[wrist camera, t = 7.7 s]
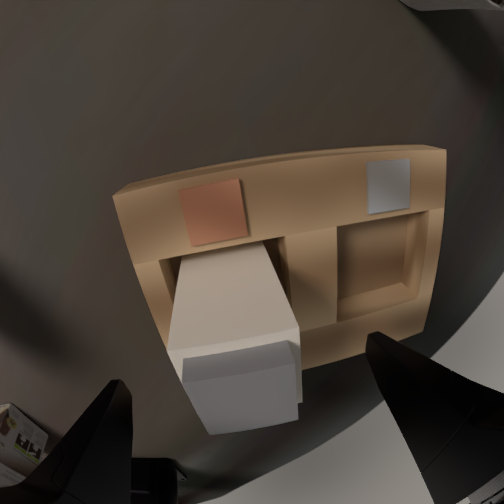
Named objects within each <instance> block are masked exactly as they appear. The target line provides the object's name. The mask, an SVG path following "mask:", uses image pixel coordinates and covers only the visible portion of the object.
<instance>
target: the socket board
mask: <svg viewBox="0 0 504 504" xmlns="http://www.w3.org/2000/svg"><path fill="white" fill-rule="evenodd" d="M445 190H446V150H445V149H441V148H436V147H432V146H427V145H422V144H389V145H369V146H353V147H340V148H329V149H319V150H309V151H300V152H292V153H284V154H277V155H269V156H263V157H256V158H249V159H243V160H237V161H231V162H226V163H220V164H215V165H210V166H204V167H199V168H194V169H190V170H185V171H180V172H176V173H171V174H167V175H162V176H158V177H154V178H150V179H146V180H142V181H138V182H134V183H130V184H128V185H126V186H125V187H124V188H122V189H121V190H120V191H118V192H117V193H116V194H114V195H113V200H114V203H115V207H116V211H117V214H118V218H119V221H120V225H121V228H122V231H123V234H124V238H125V241H126V244H127V247H128V250H129V253H130V256H131V259H132V262H133V265H134V268H135V271H136V274H137V277H138V279H139V282H140V285H141V288H142V290H143V293H144V296H145V298H146V301H147V303H148V306H149V309H150V311H151V314H152V316H153V318H154V321H155V323H156V326H157V328H158V331H159V333H160V335H161V338H162V340H163V342H164V344H165V347H166V349H167V345H168V338H169V331H170V324H171V318H172V311H173V305H174V299H175V293H176V287H177V281H178V276H179V270H180V265H181V259H182V255H186V254H192V253H197V252H202V251H207V250H212V249H218V248H223V247H228V246H234V245H239V244H244V243H249V242H255V241H260V240H262V242H263V244H264V247H265V249H266V251H267V253H268V256H269V258H270V260H271V263H272V265H273V267H274V270H275V272H276V274H277V277H278V279H279V281H280V284H281V286H282V288H283V290H284V293H285V295H286V298H287V300H288V302H289V305H290V307H291V309H292V312H293V314H294V316H295V319H296V321H297V323H298V326H299V333H300V351H301V370H305V369H309V368H312V367H316V366H320V365H324V364H327V363H331V362H335V361H338V360H341V359H345V358H348V357H352V356H355V355H358V354H361V353H364V352H365V347H366V341H367V335H368V334H369V333H372V332H375V331H379V332H381V333H383V334H385V335H387V336H389V337H391V338H392V339H394V340H396V341H399V340H402V339H404V338H407V337H410V336H412V335H415V334H417V333H420V332H422V331H423V329H424V325H425V321H426V317H427V313H428V309H429V305H430V300H431V296H432V291H433V286H434V281H435V276H436V270H437V264H438V258H439V251H440V244H441V236H442V228H443V218H444V206H445Z"/></svg>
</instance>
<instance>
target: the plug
mask: <svg viewBox="0 0 504 504" xmlns="http://www.w3.org/2000/svg"><path fill="white" fill-rule="evenodd" d="M167 353H168V355H169V357H170V359H171V361H172V364H173V366H174V368H175V370H176V372H177V374H178V376H179V378H180V380H181V382H182V384H183V386H184V388H185V390H186V392H187V394H188V396H189V398H190V400H191V402H192V404H193V406H194V408H195V410H196V412H197V414H198V415H199V417H200V419H201V421H202V422H203V424H204V426H205V428H206V430H207V431H208V433H209V435H215V434H223V433H230V432H237V431H244V430H250V429H256V428H261V427H266V426H271V425H276V424H281V423H286V422H290V421H294V420H298V404H297V403H301V402H303V400H302V373H301V351H300V333H299V326H298V323H297V321H296V319H295V316H294V314H293V312H292V309H291V307H290V305H289V302H288V300H287V298H286V295H285V293H284V290H283V288H282V286H281V284H280V281H279V279H278V277H277V274H276V272H275V270H274V267H273V265H272V263H271V260H270V258H269V256H268V253H267V251H266V249H265V247H264V244H263V242H262V240H260V241H255V242H249V243H244V244H239V245H234V246H228V247H223V248H218V249H212V250H207V251H202V252H197V253H192V254H186V255H182V259H181V265H180V270H179V276H178V281H177V287H176V293H175V299H174V305H173V311H172V318H171V324H170V331H169V338H168V345H167Z"/></svg>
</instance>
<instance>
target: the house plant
mask: <svg viewBox="0 0 504 504" xmlns="http://www.w3.org/2000/svg"><path fill="white" fill-rule="evenodd" d="M400 1H401V2H403V3H404V4H406V5H407V6H409V7H411V8H413V9H415V10H420V11H431V10H446V9H490V10H504V0H400Z"/></svg>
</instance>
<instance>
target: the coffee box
mask: <svg viewBox="0 0 504 504" xmlns="http://www.w3.org/2000/svg"><path fill="white" fill-rule="evenodd" d="M47 439H48V434H47V433H45V432H44V431H43V430H42V429H40V428H39V427H38V426H37V425H35V424H34V423H33V422H32V421H31V420H29V419H28V418H27V417H26V416H25V415H24V414H23V413H21V412H20V411H19V410H18V409H17V408H16V407H15V406H14V405H13V404H11V403H9V404H4V405H0V487H6V486H12V485H16V484H18V483H20V482H22V481H23V480H24V479H25V478H26V477H27V476H28V475H29V474H30V473H31V472H32V471H33V470H34V469H35V468H36V467H37V466H38V465H39V464H40V462H41V459H42V455H43V452H44V448H45V445H46V442H47Z"/></svg>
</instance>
